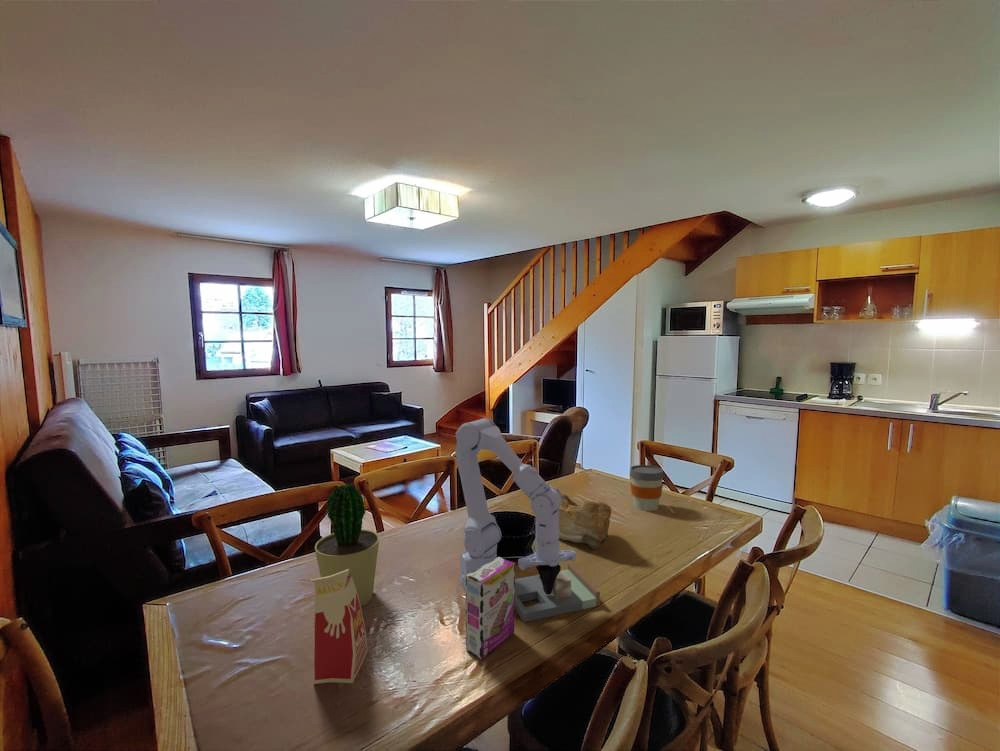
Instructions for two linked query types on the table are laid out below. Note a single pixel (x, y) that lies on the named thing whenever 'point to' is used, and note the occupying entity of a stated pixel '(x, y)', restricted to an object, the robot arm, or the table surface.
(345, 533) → the potted cactus
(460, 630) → the table surface
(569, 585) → the block
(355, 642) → the milk carton
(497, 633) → the candy bar box
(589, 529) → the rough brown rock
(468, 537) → the robot arm
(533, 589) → the board
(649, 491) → the reusable coffee cup
